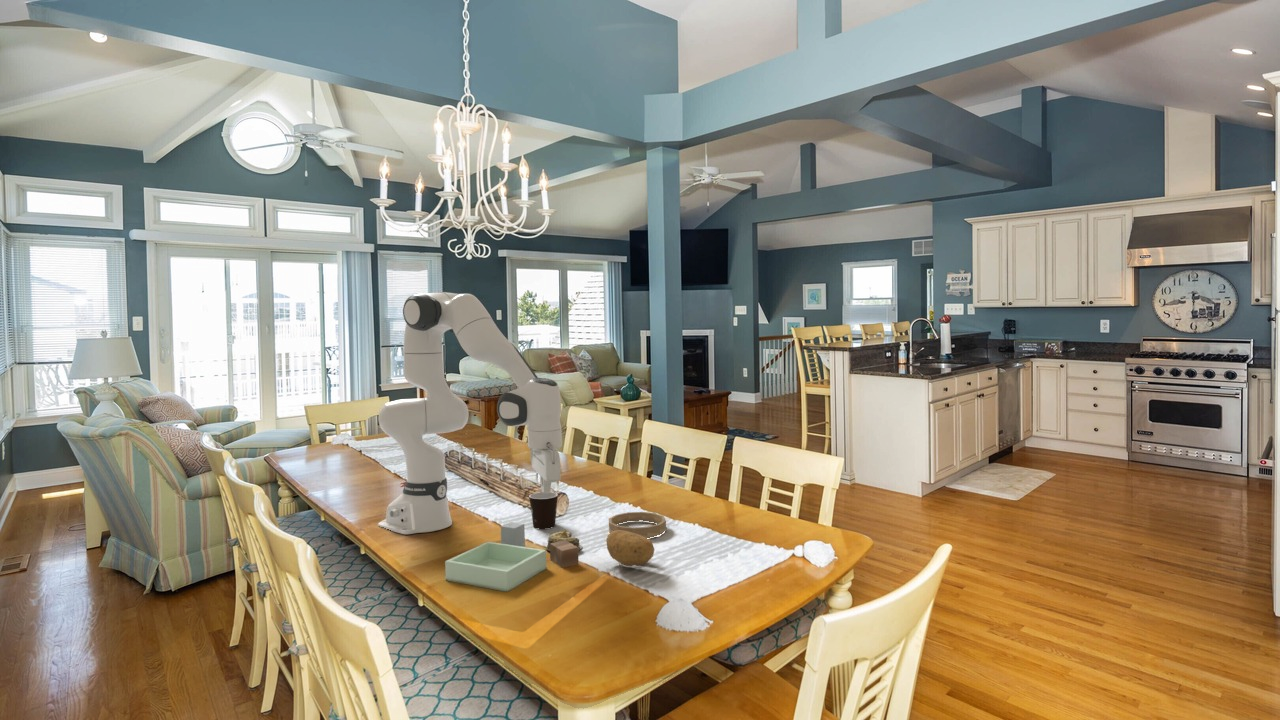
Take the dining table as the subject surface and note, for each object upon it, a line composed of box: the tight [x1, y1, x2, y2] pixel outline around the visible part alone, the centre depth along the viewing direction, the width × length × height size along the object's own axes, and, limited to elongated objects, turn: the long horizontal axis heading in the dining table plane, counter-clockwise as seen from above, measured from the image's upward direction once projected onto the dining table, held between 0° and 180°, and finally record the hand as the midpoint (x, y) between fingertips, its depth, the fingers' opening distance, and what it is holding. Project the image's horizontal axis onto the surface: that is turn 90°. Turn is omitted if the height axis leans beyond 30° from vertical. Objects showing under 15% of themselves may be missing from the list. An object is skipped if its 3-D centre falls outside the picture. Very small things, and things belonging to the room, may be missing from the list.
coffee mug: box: [528, 491, 559, 530], centre depth 195 cm, size 12×9×10 cm
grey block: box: [500, 521, 526, 547], centre depth 173 cm, size 4×4×7 cm
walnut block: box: [549, 540, 579, 569], centre depth 164 cm, size 4×4×7 cm
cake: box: [545, 529, 583, 552], centre depth 174 cm, size 10×10×5 cm
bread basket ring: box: [608, 511, 667, 538], centre depth 189 cm, size 17×17×4 cm
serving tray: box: [444, 541, 548, 593], centre depth 156 cm, size 18×16×5 cm
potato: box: [605, 530, 655, 567], centre depth 161 cm, size 10×14×8 cm
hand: (546, 492), depth 168 cm, fingers closed
